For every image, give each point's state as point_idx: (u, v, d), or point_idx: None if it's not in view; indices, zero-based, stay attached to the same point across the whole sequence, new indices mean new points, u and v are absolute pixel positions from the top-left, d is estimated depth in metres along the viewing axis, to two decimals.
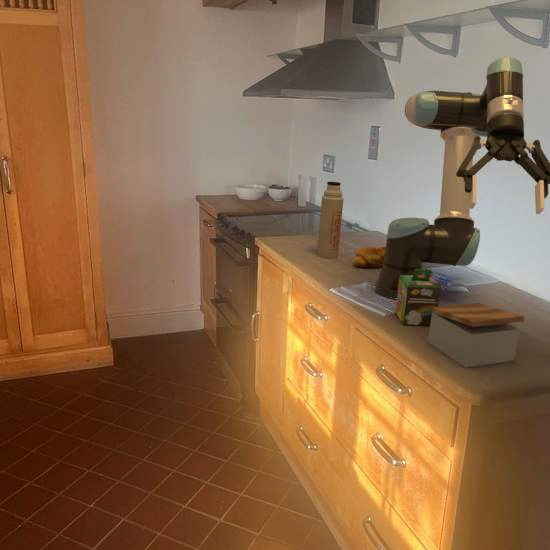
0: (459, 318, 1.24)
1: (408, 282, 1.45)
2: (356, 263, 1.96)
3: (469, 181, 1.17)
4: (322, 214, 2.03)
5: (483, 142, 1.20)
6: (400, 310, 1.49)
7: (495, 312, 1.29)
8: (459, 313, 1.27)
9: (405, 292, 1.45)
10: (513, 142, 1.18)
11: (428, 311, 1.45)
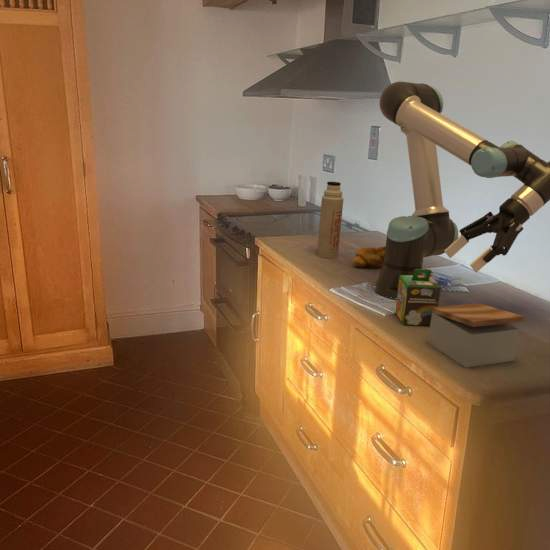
0: (459, 318, 1.24)
1: (408, 282, 1.45)
2: (355, 263, 1.96)
3: None
4: (322, 214, 2.03)
5: None
6: (400, 310, 1.49)
7: (495, 312, 1.29)
8: (459, 313, 1.27)
9: (405, 292, 1.45)
10: None
11: (428, 311, 1.45)
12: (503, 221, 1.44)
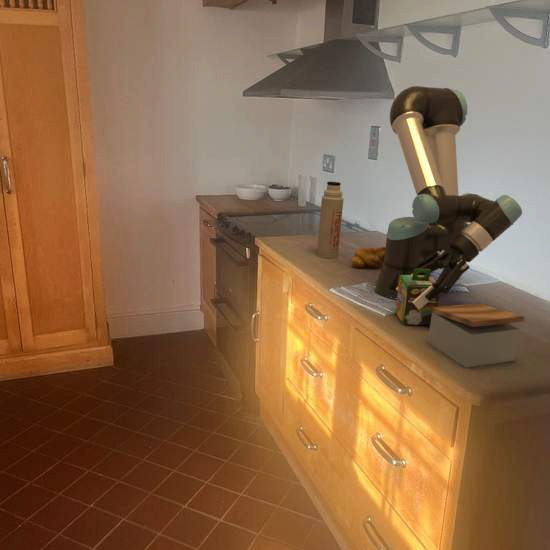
0: (459, 318, 1.24)
1: (408, 282, 1.45)
2: (354, 263, 1.95)
3: None
4: (322, 214, 2.03)
5: None
6: (400, 310, 1.49)
7: (495, 312, 1.29)
8: (459, 313, 1.27)
9: (405, 292, 1.45)
10: None
11: (428, 311, 1.45)
12: (452, 258, 1.45)
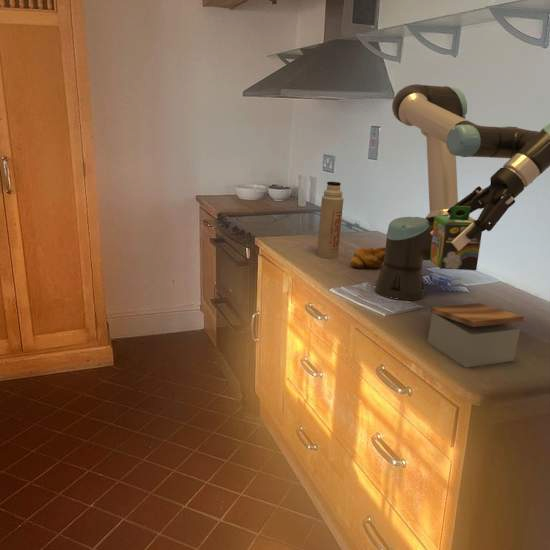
0: (459, 318, 1.24)
1: (446, 220, 1.30)
2: (353, 263, 1.95)
3: None
4: (322, 214, 2.03)
5: None
6: (436, 254, 1.34)
7: (495, 312, 1.29)
8: (459, 313, 1.27)
9: (442, 231, 1.29)
10: None
11: (469, 253, 1.30)
12: (494, 193, 1.30)
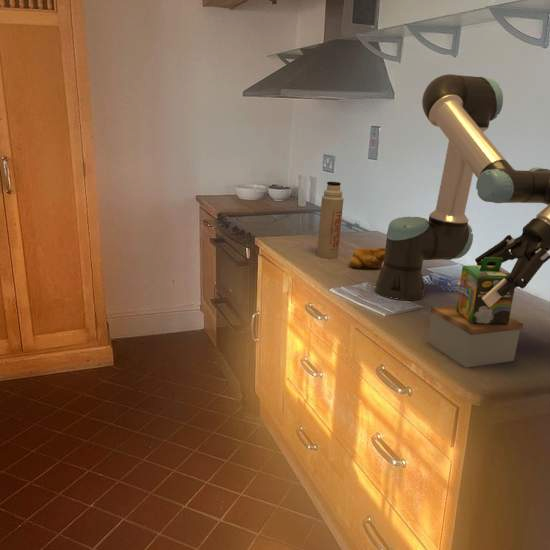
0: (459, 323, 1.24)
1: (477, 273, 1.22)
2: (351, 263, 1.95)
3: None
4: (322, 214, 2.03)
5: None
6: (465, 306, 1.26)
7: None
8: (459, 317, 1.28)
9: (474, 285, 1.22)
10: None
11: (501, 307, 1.23)
12: (527, 246, 1.23)
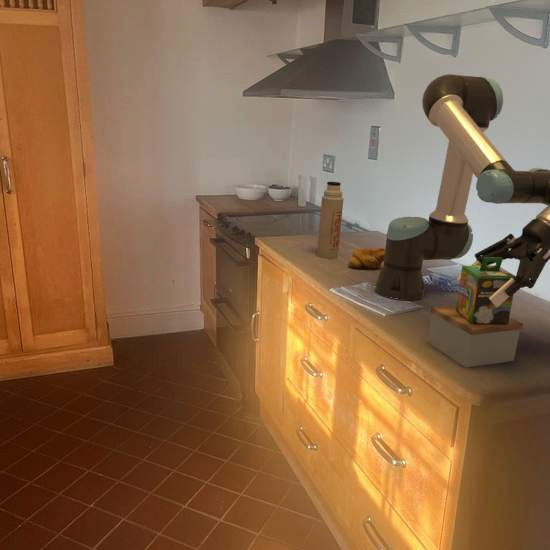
0: (459, 323, 1.24)
1: (477, 273, 1.22)
2: (351, 264, 1.95)
3: None
4: (322, 214, 2.03)
5: None
6: (465, 307, 1.26)
7: None
8: (459, 317, 1.28)
9: (474, 285, 1.22)
10: None
11: (501, 307, 1.23)
12: (528, 246, 1.23)
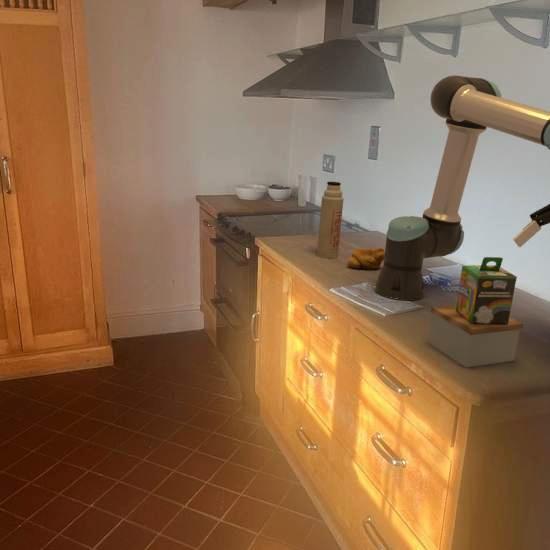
0: (459, 323, 1.24)
1: (477, 273, 1.22)
2: (349, 264, 1.94)
3: None
4: (322, 214, 2.03)
5: None
6: (465, 306, 1.26)
7: None
8: (459, 317, 1.28)
9: (474, 285, 1.22)
10: None
11: (501, 307, 1.23)
12: None
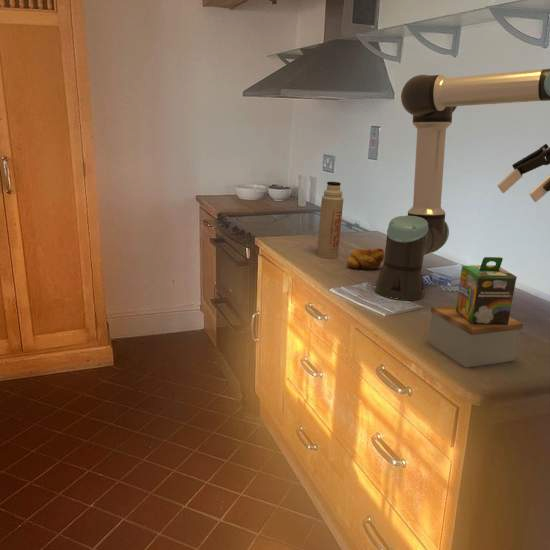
0: (459, 323, 1.24)
1: (477, 273, 1.22)
2: (349, 264, 1.94)
3: None
4: (322, 214, 2.03)
5: None
6: (465, 306, 1.26)
7: None
8: (459, 317, 1.28)
9: (474, 285, 1.22)
10: None
11: (501, 307, 1.23)
12: None
